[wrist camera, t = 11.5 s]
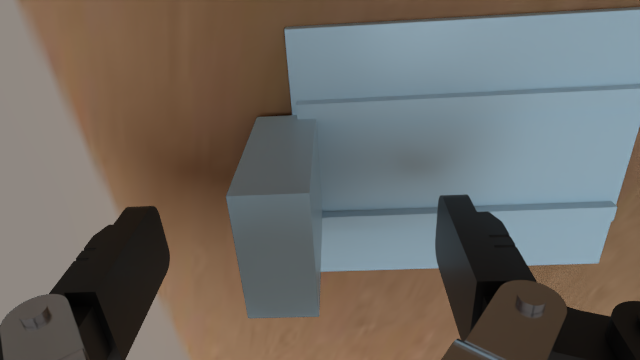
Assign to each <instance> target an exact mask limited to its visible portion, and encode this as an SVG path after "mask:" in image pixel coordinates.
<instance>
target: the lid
mask: <svg viewBox="0 0 640 360" xmlns="http://www.w3.org/2000/svg"><path fill="white" fill-rule="evenodd" d="M284 32H285V42H286V53H287V64H288V75H289V86H290V96H291V107H292V115H290V116H268V117H257V118H256V121H255V123H254V126H253V128H252V131H251V133H250V136H249V139H248V141H247V144H246V146H245V149H244V151H243V154H242V156H241V159H240V162H239V164H238V167H237V169H236V172H235V174H234V177H233V179H232V182H231V185H230V187H229V190H228V192H227V195H226V200H227V205H228V211H229V216H230V222H231V227H232V233H233V238H234V243H235V249H236V254H237V260H238V265H239V271H240V276H241V282H242V287H243V292H244V298H245V303H246V309H247V314H248V318H281V317H319V310H320V278H321V272H328V271H361V270H394V269H427V268H439V267H438V264H437V259H436V252H435V237H436V224H437V210H438V200H439V197H440V196H441V195H464V194H467V195H468V196H469V197H470V199H471V201H472V203H473V205H474V207H475V209H476V211H477V212H486V211H488V212H490V213H491V214H492V215H494V216H495V217H496V218H498V219H499V220H500V221H502V222H503V224H504V226H505V227H506V229H507V231H508V233H509V236H510V237H511V238H512V240H513V241H514V243H515V247H517V248H518V250H519V252H520V254H521V255H522V257H523V259H524V261H525V262H526V264H527V265H559V264H591V263H599V260H600V257H601V253H602V250H603V247H604V243H605V240H606V237H607V233H608V230H609V227H610V223H611V221H613V220H614V217H615V214H616V210H617V206H616V203H617V200H618V197H619V193H620V190H621V187H622V183H623V180H624V176H625V173H626V170H627V166H628V163H629V160H630V156H631V153H632V150H633V146H634V143H635V140H636V136H637V133H638V130H639V126H640V7H631V8H613V9H595V10H577V11H559V12H541V13H524V14H506V15H488V16H470V17H452V18H434V19H417V20H399V21H381V22H363V23H345V24H327V25H309V26H292V27H285V29H284Z"/></svg>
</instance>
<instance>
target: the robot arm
mask: <svg viewBox="0 0 640 360" xmlns="http://www.w3.org/2000/svg"><path fill="white" fill-rule="evenodd" d="M435 252H436V259H437V264H438V267H439V270H440V273H441V277H442V280H443V283H444V286H445V289H446V293H447V296H448V299H449V302H450V306H451V309H452V312H453V315H454V318H455V322H456V325H457V328H458V331H459V334H460V338H461V340H460V339H457V340H455V341H454V342H453V343H452V344H451V346H450V347H449V349H448V350H447V352H446V353H445V355H444V356H443V358H442V359H441V360H640V301H628V302H623V303H620V304H618V305H617V306H616V307H615V308H614V309H613V312H612V314H611V317H609V316H604V315H599V314H594V313H589V312H584V311H580V310H576V309H573V308H570V307H567V306H566V304H565V302H564V300H563V299H562V297H561V296H560V295H559V294H558V293H557V292H555V291H554V290H552V289H551V288H549V287H547V286H545V285H543V284H541V283H537V282H536V280H535V278H534V276H533V275H532V273H531V271H530V269H529V268H528V266H527V264H526V262H525V261H524V259H523V257H522V255H521V254H520V252H519V250H518V248H517V247H515V243H514V241H513V240H512V238H511V237H510V236H509V233H508V231H507V229H506V227H505V226H504V224H503V222H502V221H500V220H499V219H498V218H496V217H495V216H494V215H492V214H491V213H490V212H488V211H486V212H477V211H476V209H475V207H474V205H473V203H472V201H471V199H470V197H469V196H468V195H467V194H464V195H441V196H440V197H439V200H438V210H437V224H436V237H435ZM169 261H170V255H169V248H168V245H167V241H166V237H165V234H164V230H163V226H162V223H161V219H160V215H159V212H158V210H157V208H156V207H154V206H143V207H127V208H125V210H124V211H123V212H122V214H121V215H120V216H119V218H118V219H117V220H116V222H115V223H114V225H108V226H107V227H105V228H104V229H102V230H101V231H100V232H98V233H97V234H95V235H94V236H93V237H92V238H91V240H90V241H89V242H88V244H87V245H86V246H85V248H84V251H82V252H81V253H80V254H79V255H78V257H77V258H76V261H74V262H73V263H72V264H71V266H70V267H69V268H68V270H67V271H66V272H65V274H64V275H63V276H62V278H61V279H60V280H59V281H58V283H57V284H56V285H55V287H54V288H53V289H52V290H51V292H50V293H49V294H46V295H41V296H37V297H35V298H32V299H29V300H27V301H25V302H23V303H22V304H20V305H18V306H17V307H15V308H14V309H13V310H12V311H10V312H9V314H7V315H6V317H5V318H4V319H3V321H2V323H1V325H0V360H125V359H126V357H127V355H128V353H129V350H130V348H131V346H132V344H133V342H134V340H135V338H136V336H137V334H138V331H139V330H140V328H141V325H142V323H143V321H144V319H145V317H146V315H147V313H148V311H149V309H150V306H151V304H152V302H153V300H154V298H155V296H156V294H157V292H158V290H159V288H160V286H161V284H162V281H163V279H164V277H165V275H166V273H167V271H168V268H169Z"/></svg>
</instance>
